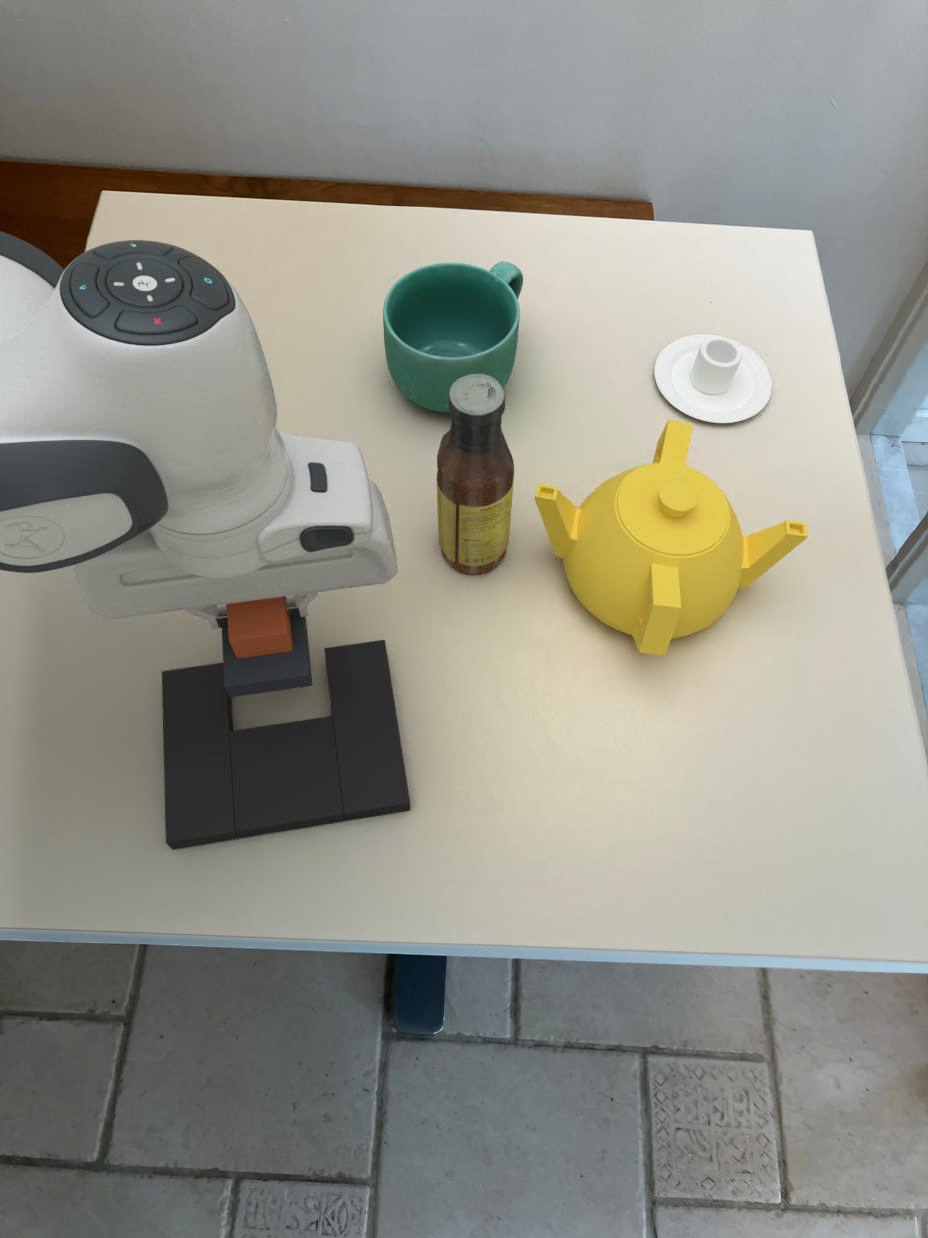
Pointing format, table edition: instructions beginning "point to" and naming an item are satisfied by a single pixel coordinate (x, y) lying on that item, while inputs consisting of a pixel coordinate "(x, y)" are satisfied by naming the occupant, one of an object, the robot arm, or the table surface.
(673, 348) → the candle holder
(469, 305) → the mug
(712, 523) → the teapot
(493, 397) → the sauce bottle
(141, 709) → the table surface
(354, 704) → the base pad
